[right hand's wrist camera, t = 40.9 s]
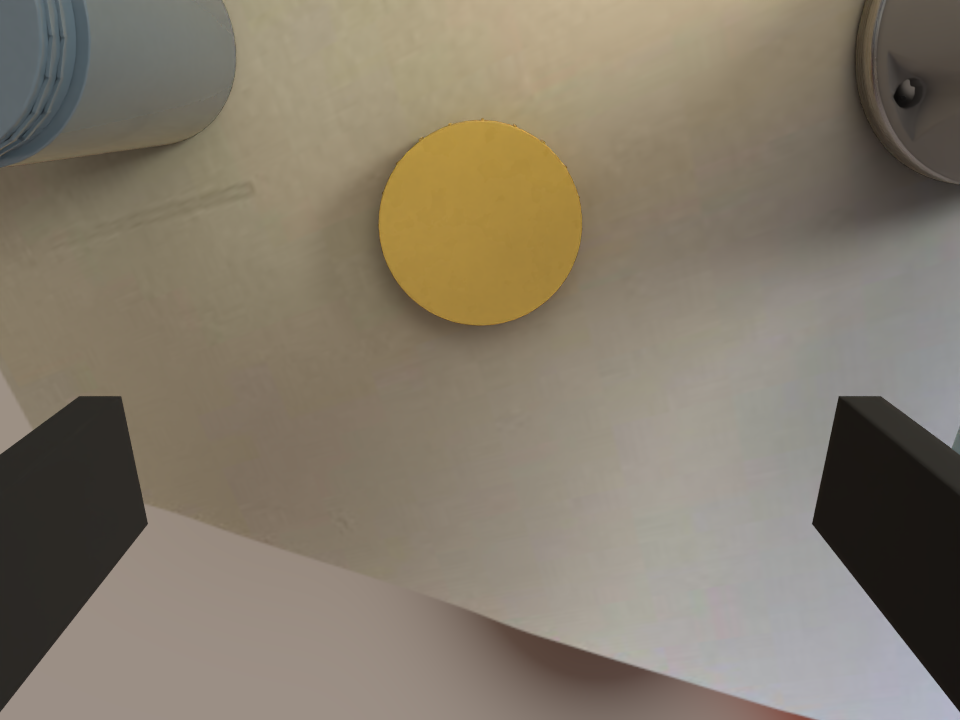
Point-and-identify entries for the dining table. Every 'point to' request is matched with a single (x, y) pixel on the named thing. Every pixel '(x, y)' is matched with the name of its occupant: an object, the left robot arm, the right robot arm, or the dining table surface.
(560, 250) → the lid
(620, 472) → the dining table surface
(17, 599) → the right robot arm
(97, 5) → the jar
